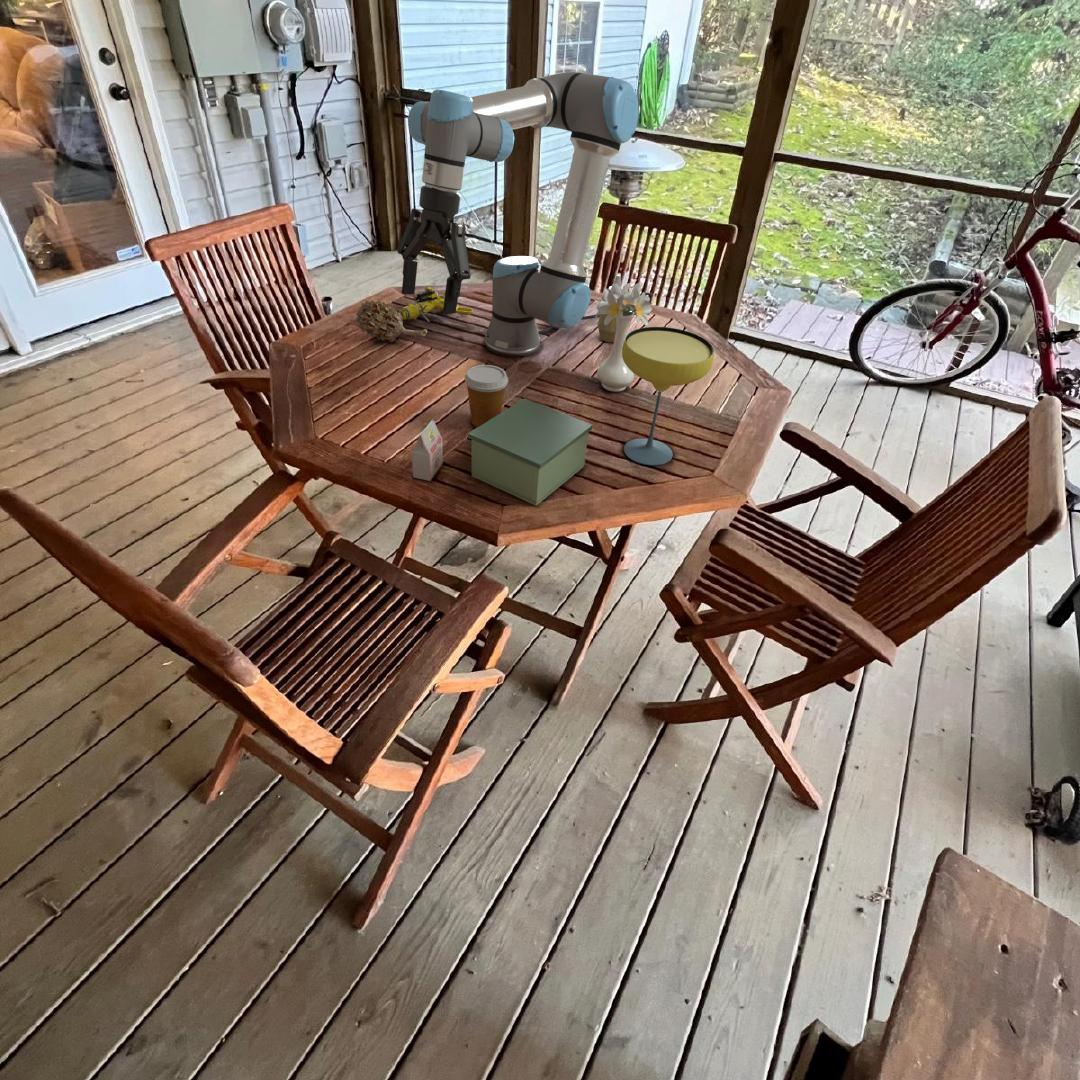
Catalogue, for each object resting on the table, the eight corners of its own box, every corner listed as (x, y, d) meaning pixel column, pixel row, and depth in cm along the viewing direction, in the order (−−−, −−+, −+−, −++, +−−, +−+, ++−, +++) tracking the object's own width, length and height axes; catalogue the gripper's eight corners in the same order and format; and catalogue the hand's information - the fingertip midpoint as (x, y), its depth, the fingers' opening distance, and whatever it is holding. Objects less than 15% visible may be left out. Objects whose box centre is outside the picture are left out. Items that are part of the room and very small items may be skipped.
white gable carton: (413, 477, 138) (410, 434, 131) (426, 460, 143) (424, 417, 136) (430, 481, 137) (428, 437, 131) (442, 463, 142) (441, 421, 136)
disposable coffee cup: (500, 436, 152) (502, 386, 144) (459, 429, 153) (459, 379, 146) (510, 415, 159) (512, 367, 152) (471, 409, 160) (471, 361, 153)
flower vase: (640, 373, 181) (657, 277, 166) (635, 405, 167) (652, 304, 151) (591, 366, 183) (603, 270, 167) (582, 397, 168) (594, 296, 153)
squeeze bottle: (628, 338, 199) (638, 275, 187) (615, 347, 193) (625, 282, 182) (604, 330, 202) (612, 268, 190) (590, 339, 196) (598, 275, 185)
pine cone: (349, 340, 185) (345, 303, 179) (368, 327, 192) (364, 292, 186) (423, 356, 180) (421, 320, 174) (439, 343, 187) (438, 307, 181)
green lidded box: (521, 438, 152) (524, 398, 145) (587, 466, 145) (592, 424, 139) (467, 476, 139) (467, 433, 133) (536, 508, 132) (540, 464, 126)
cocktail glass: (688, 481, 143) (716, 370, 127) (603, 468, 145) (619, 356, 129) (689, 437, 157) (714, 332, 141) (611, 426, 159) (627, 321, 143)
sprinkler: (382, 288, 196) (435, 272, 207) (384, 314, 201) (435, 296, 212) (427, 312, 187) (479, 293, 199) (428, 338, 192) (478, 317, 204)
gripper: (385, 173, 133) (377, 286, 143) (469, 199, 120) (452, 322, 130) (417, 178, 138) (406, 286, 148) (500, 204, 125) (482, 321, 135)
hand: (428, 303), depth 139 cm, fingers open, 13 cm apart
